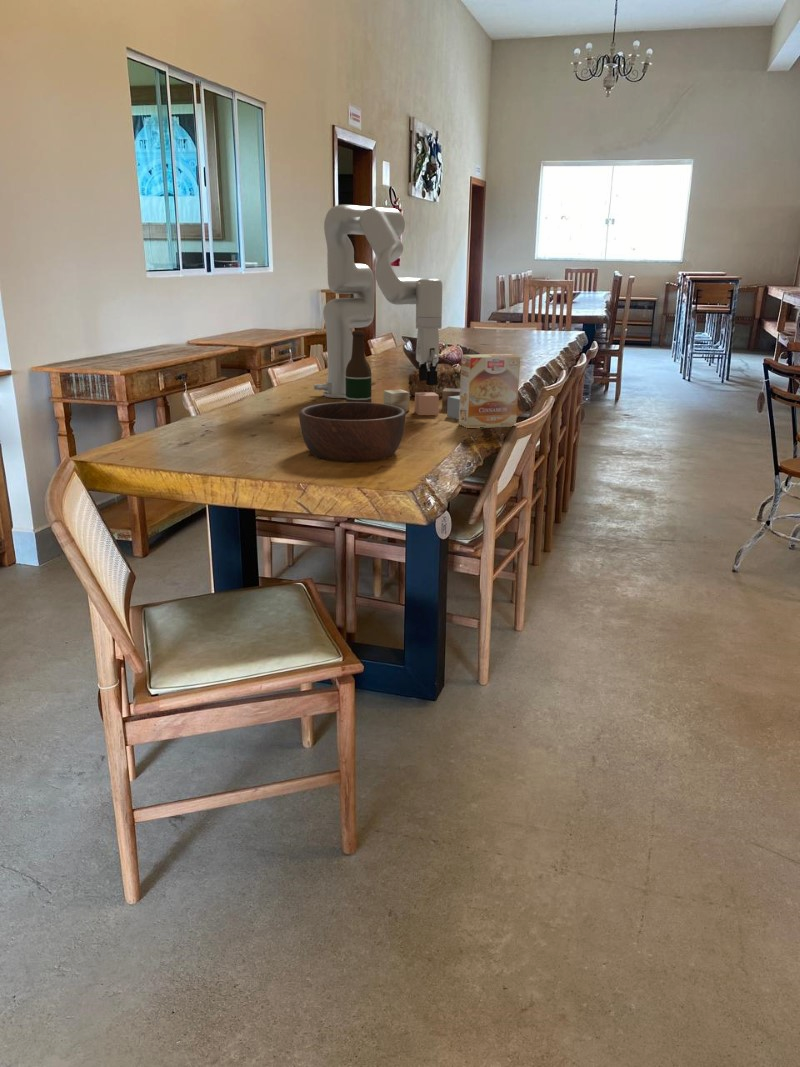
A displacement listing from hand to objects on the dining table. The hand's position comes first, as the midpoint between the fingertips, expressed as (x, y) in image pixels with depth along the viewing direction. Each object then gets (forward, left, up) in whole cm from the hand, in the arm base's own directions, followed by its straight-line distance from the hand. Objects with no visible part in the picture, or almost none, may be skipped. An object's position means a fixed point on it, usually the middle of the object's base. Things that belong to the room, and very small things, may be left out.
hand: (427, 382), depth 235 cm
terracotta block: (0, 0, -9) cm, 9 cm away
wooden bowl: (-29, -48, -10) cm, 57 cm away
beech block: (-8, +6, -9) cm, 14 cm away
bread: (+11, +36, -10) cm, 39 cm away
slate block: (+9, -7, -9) cm, 15 cm away
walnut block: (+10, +7, -9) cm, 15 cm away
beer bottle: (-20, +4, -10) cm, 23 cm away
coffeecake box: (+13, -20, -10) cm, 25 cm away
